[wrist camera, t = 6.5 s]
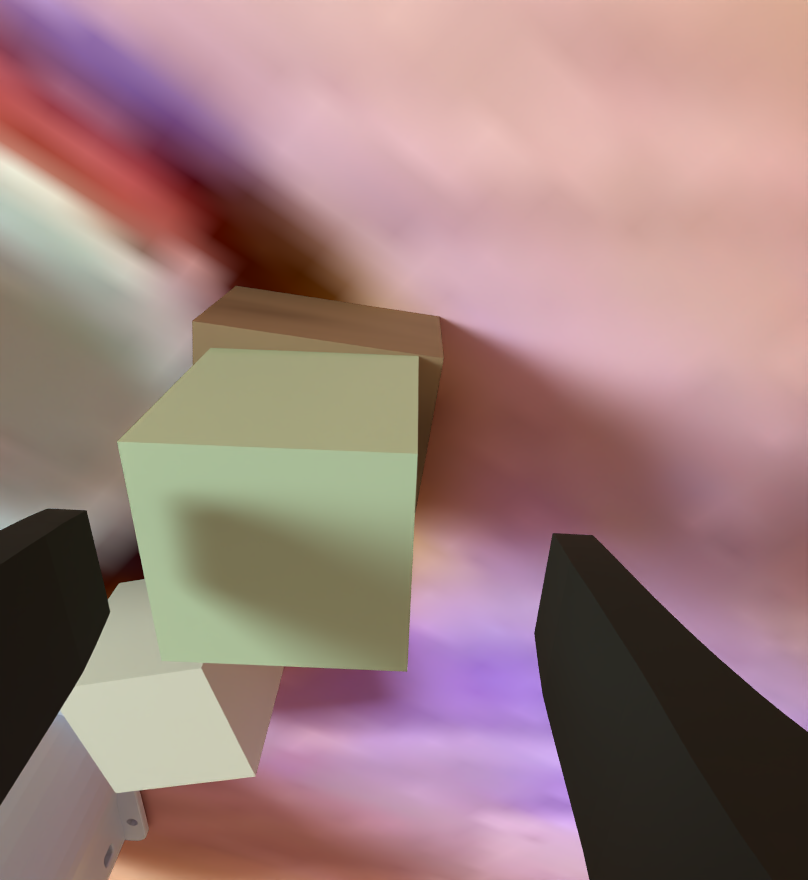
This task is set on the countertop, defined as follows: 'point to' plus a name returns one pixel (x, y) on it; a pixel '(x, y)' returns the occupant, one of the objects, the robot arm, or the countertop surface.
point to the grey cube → (166, 707)
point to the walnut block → (327, 337)
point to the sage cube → (279, 508)
